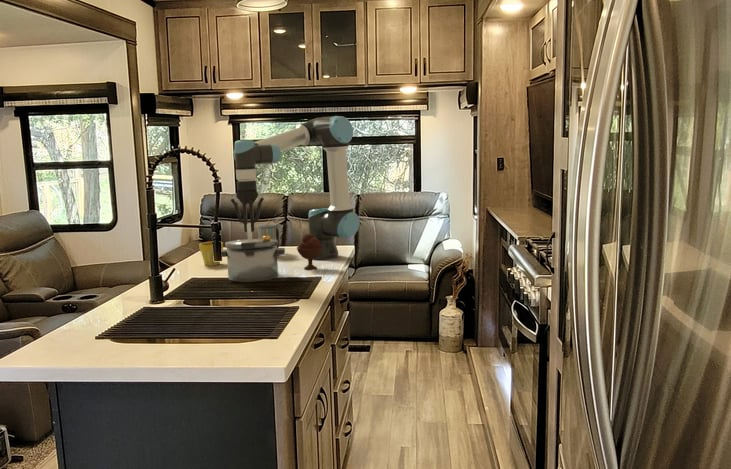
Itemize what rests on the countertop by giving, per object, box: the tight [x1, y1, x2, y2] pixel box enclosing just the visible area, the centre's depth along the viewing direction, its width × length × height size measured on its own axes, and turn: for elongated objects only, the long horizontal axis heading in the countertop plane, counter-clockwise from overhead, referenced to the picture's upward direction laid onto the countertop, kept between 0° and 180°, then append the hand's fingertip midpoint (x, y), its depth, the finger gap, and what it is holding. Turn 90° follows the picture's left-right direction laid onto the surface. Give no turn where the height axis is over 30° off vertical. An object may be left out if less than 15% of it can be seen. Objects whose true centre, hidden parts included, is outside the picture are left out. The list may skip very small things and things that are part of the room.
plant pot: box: [198, 241, 224, 267], centre depth 278 cm, size 10×10×10 cm
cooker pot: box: [221, 246, 286, 283], centre depth 250 cm, size 26×20×12 cm
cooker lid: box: [224, 236, 278, 249], centre depth 248 cm, size 21×24×4 cm
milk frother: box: [257, 224, 280, 257], centre depth 298 cm, size 14×16×15 cm
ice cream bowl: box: [296, 233, 323, 271], centre depth 262 cm, size 11×11×15 cm
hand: (250, 239), depth 243 cm, fingers closed
